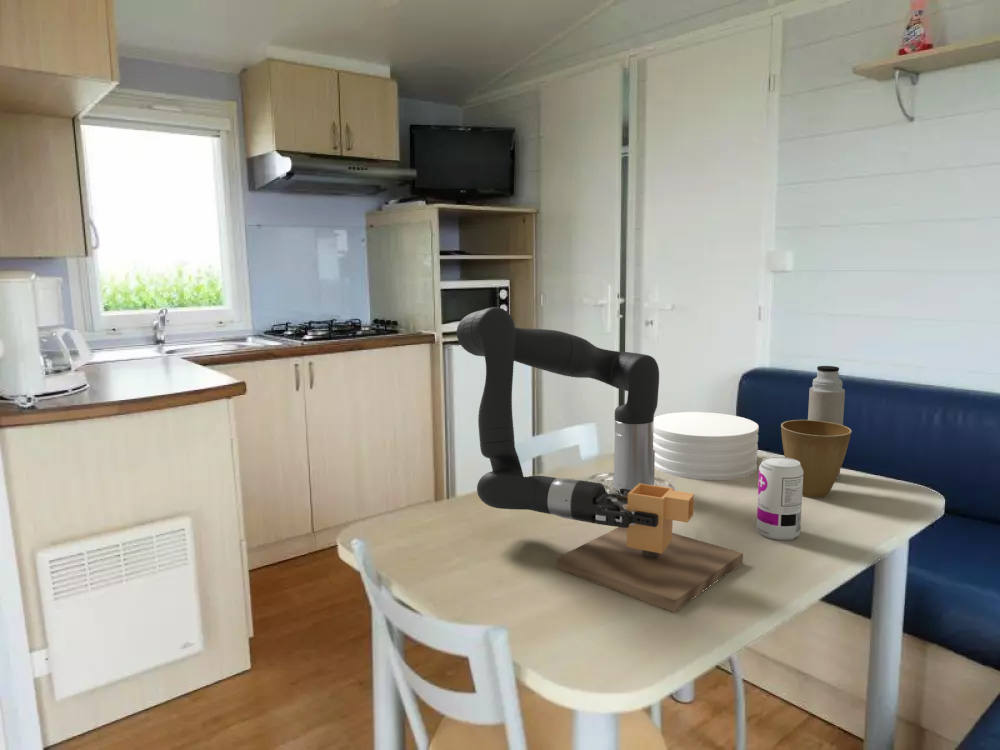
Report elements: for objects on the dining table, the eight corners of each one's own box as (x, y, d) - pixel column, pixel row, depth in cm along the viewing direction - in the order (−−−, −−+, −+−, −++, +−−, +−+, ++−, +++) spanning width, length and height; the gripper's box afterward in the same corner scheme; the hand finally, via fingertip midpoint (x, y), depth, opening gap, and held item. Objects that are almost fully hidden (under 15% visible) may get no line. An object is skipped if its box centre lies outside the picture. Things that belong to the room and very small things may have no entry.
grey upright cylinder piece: (647, 550, 128) (648, 506, 127) (661, 555, 126) (662, 510, 125) (638, 555, 126) (639, 511, 125) (652, 560, 124) (653, 515, 123)
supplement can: (756, 538, 138) (759, 465, 135) (756, 523, 146) (759, 454, 143) (800, 543, 135) (804, 469, 133) (798, 528, 143) (802, 457, 140)
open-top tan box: (626, 546, 125) (627, 493, 123) (638, 534, 130) (639, 483, 129) (684, 558, 120) (686, 502, 118) (693, 544, 125) (695, 491, 124)
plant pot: (771, 496, 162) (774, 429, 159) (785, 479, 174) (788, 417, 171) (842, 508, 153) (846, 438, 151) (851, 489, 166) (855, 423, 163)
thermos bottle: (830, 470, 180) (837, 363, 176) (845, 480, 172) (852, 368, 168) (799, 471, 180) (805, 364, 176) (813, 480, 172) (819, 369, 168)
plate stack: (693, 486, 170) (695, 441, 168) (628, 458, 196) (629, 418, 194) (780, 471, 181) (782, 428, 179) (708, 445, 207) (709, 408, 205)
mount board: (631, 530, 143) (631, 520, 143) (742, 563, 127) (742, 553, 127) (557, 568, 127) (556, 557, 126) (674, 612, 110) (674, 600, 110)
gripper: (561, 491, 125) (651, 506, 117) (590, 470, 137) (675, 482, 129) (561, 531, 126) (650, 548, 118) (590, 506, 139) (673, 521, 131)
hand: (663, 514), depth 124 cm, fingers closed on open-top tan box, 6 cm apart
